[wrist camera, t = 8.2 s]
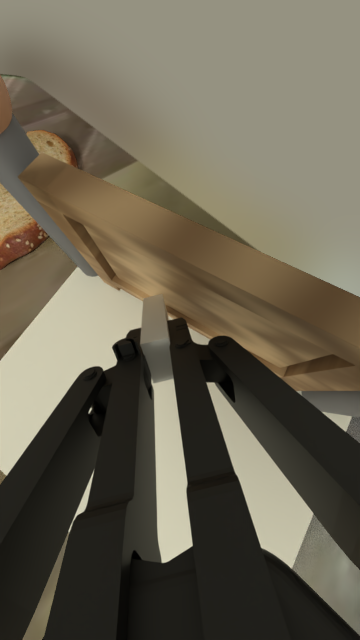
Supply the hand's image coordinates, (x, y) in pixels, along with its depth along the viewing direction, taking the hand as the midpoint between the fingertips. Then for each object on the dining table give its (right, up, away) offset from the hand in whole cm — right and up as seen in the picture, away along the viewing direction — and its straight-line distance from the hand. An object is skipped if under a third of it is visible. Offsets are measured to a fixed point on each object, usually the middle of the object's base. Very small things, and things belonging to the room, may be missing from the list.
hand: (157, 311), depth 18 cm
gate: (+3, -1, +4) cm, 5 cm away
